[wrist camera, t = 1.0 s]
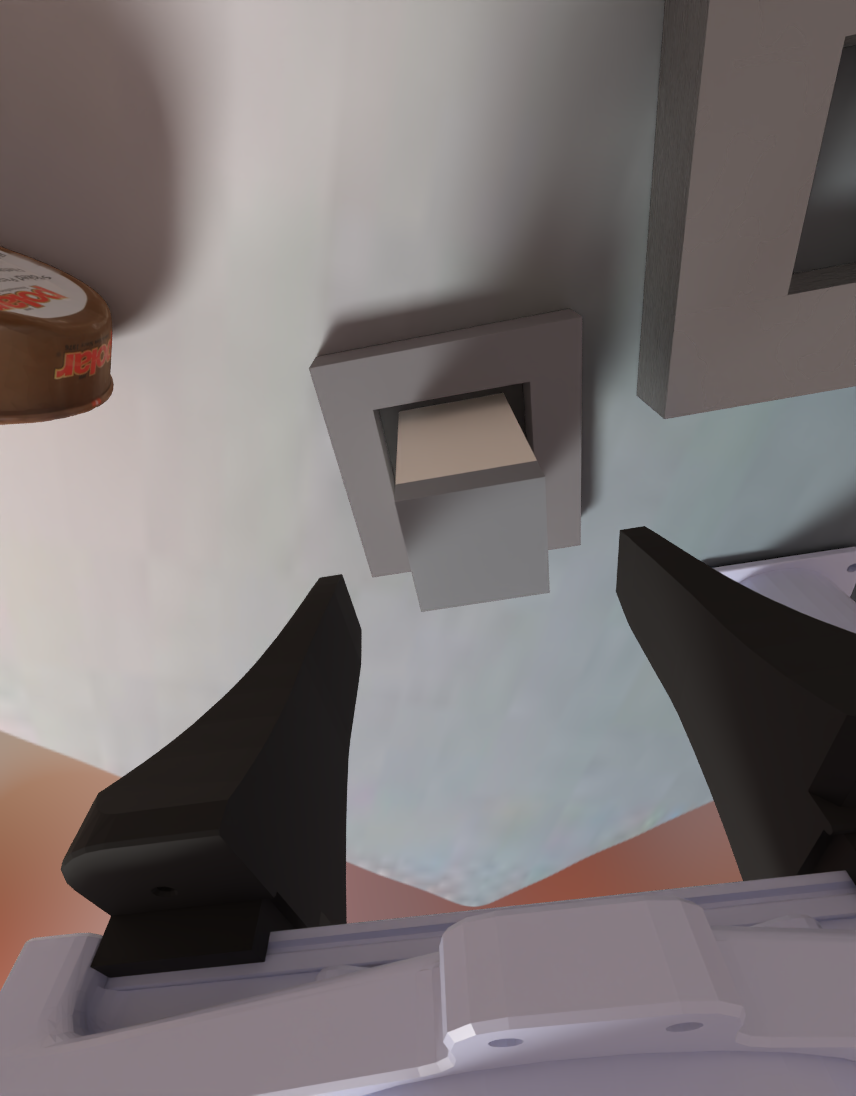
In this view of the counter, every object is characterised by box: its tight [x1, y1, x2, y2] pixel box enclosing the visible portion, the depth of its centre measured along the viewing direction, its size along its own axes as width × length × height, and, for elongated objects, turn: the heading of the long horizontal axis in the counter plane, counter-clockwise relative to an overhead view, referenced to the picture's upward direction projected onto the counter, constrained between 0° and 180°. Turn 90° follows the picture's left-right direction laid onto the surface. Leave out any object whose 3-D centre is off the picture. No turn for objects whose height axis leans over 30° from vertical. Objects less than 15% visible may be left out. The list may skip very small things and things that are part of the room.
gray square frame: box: [309, 309, 582, 577], centre depth 19 cm, size 9×9×2 cm
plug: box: [395, 393, 550, 612], centre depth 17 cm, size 4×4×7 cm
